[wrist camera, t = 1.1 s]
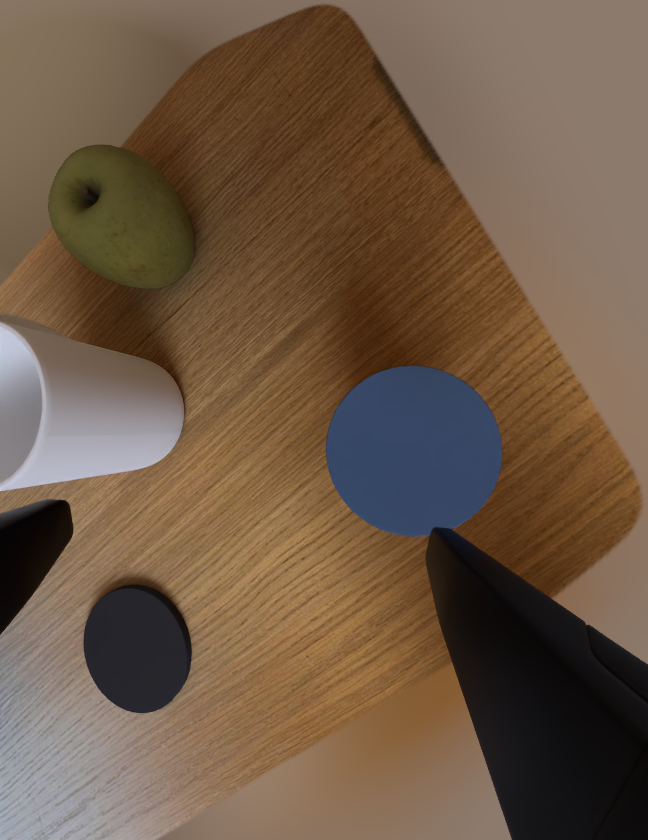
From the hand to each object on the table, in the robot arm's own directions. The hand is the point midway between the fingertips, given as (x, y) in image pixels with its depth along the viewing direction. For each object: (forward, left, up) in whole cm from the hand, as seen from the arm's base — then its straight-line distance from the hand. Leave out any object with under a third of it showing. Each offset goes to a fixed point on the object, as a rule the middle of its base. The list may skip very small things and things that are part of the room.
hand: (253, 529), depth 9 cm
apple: (+19, -7, -14) cm, 25 cm away
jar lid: (-3, -3, -6) cm, 8 cm away
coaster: (+7, +20, -14) cm, 25 cm away
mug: (+17, +4, -14) cm, 23 cm away
